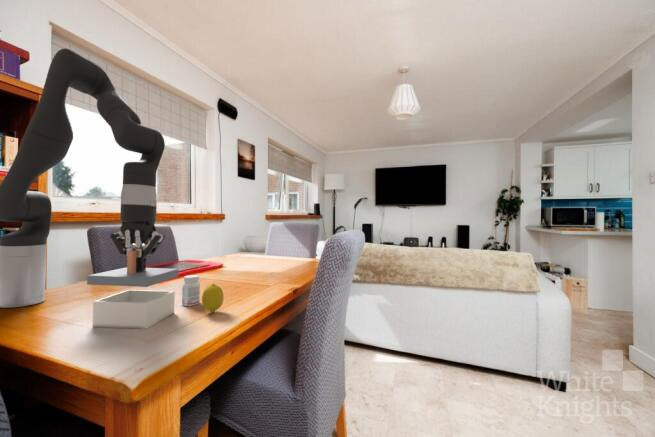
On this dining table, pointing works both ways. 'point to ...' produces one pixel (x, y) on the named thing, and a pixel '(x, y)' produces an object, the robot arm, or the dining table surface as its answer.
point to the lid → (132, 275)
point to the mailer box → (133, 309)
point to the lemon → (212, 298)
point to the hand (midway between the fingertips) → (136, 271)
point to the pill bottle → (191, 290)
